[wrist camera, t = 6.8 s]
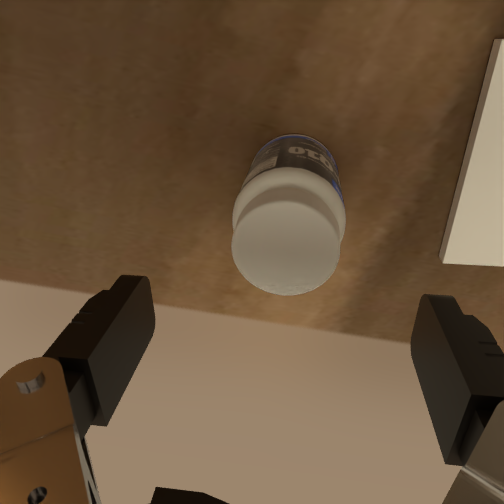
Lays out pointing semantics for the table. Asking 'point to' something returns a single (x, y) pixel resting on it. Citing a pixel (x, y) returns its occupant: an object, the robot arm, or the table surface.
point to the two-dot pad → (481, 179)
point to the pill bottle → (289, 217)
